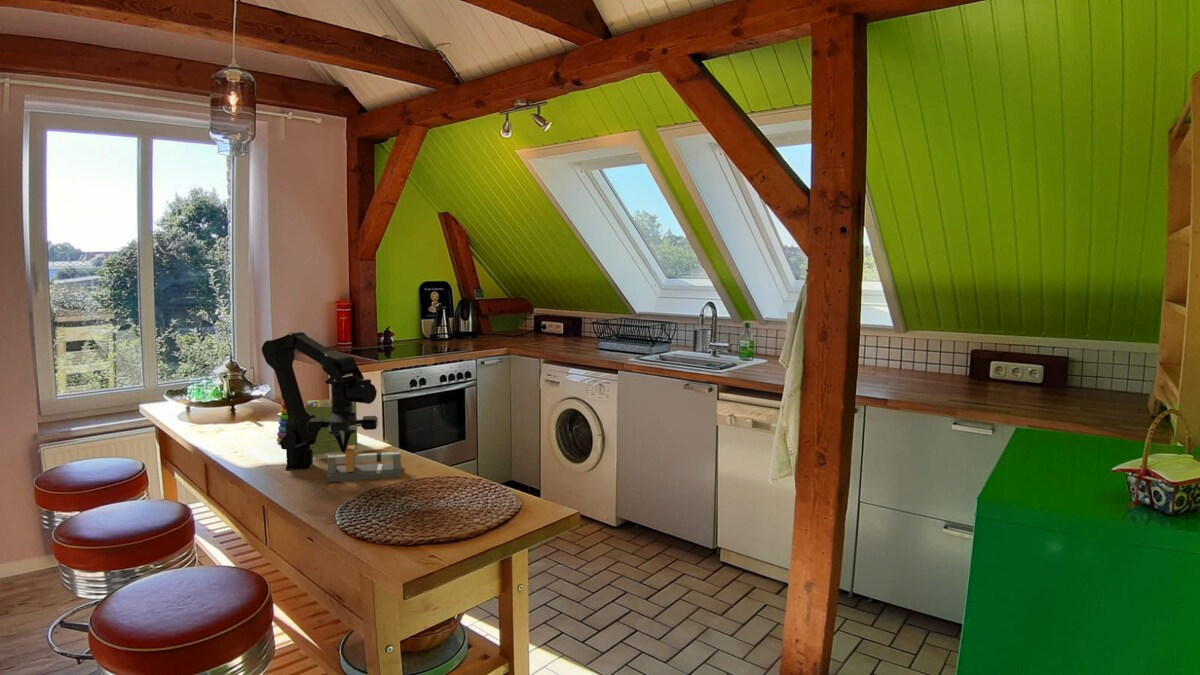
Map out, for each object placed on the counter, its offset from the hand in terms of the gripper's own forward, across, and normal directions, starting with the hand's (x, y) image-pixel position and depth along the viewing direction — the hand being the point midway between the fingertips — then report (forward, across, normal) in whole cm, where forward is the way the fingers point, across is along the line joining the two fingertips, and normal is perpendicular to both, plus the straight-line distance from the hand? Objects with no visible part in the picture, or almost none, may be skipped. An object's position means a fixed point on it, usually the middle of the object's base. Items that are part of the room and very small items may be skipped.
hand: (343, 452), depth 196 cm
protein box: (+7, -8, +29) cm, 31 cm away
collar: (+5, +2, 0) cm, 5 cm away
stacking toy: (+7, -23, +39) cm, 46 cm away
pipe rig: (+7, +6, 0) cm, 9 cm away
